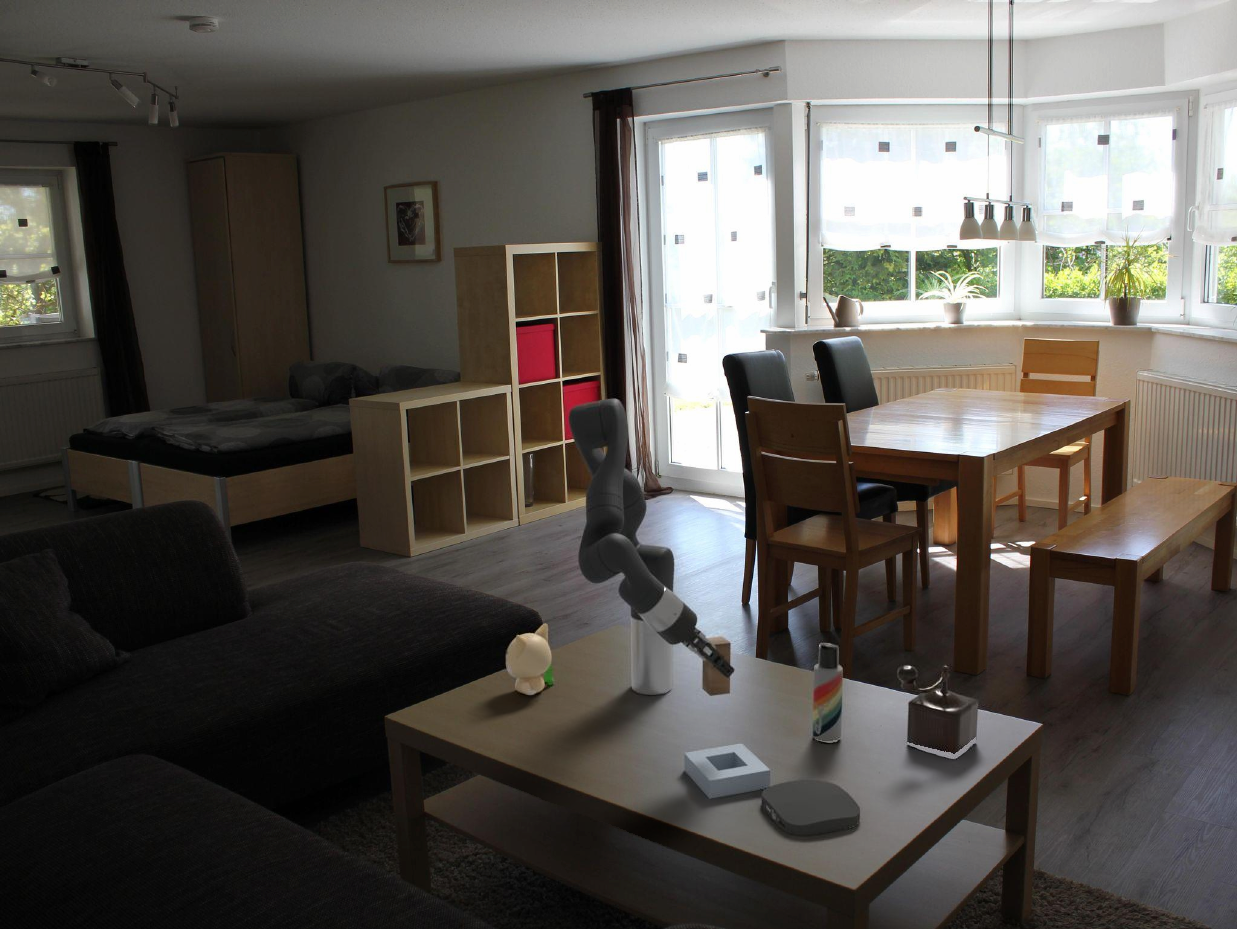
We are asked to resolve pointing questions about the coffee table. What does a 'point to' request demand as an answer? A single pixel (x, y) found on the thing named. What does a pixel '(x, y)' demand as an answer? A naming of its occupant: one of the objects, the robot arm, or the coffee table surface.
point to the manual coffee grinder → (938, 714)
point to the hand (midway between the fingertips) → (725, 669)
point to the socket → (726, 770)
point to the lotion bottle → (827, 694)
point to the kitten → (530, 661)
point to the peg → (716, 670)
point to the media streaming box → (810, 807)
